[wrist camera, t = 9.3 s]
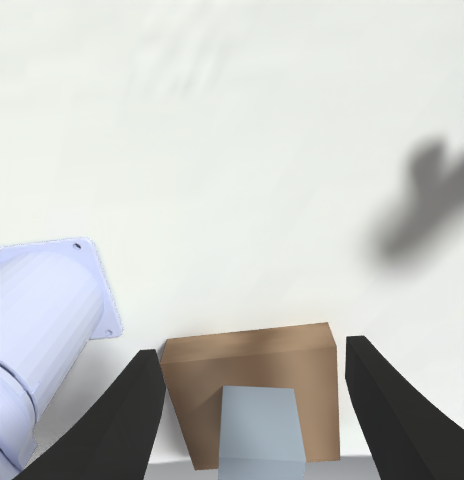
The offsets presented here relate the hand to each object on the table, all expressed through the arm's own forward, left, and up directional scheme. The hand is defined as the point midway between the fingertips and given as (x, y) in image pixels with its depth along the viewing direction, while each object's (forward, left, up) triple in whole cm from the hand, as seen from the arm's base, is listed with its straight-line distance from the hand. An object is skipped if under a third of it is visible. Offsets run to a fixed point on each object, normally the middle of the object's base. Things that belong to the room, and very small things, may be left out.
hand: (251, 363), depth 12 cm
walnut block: (-1, -13, -11) cm, 17 cm away
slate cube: (-1, -12, -8) cm, 14 cm away
